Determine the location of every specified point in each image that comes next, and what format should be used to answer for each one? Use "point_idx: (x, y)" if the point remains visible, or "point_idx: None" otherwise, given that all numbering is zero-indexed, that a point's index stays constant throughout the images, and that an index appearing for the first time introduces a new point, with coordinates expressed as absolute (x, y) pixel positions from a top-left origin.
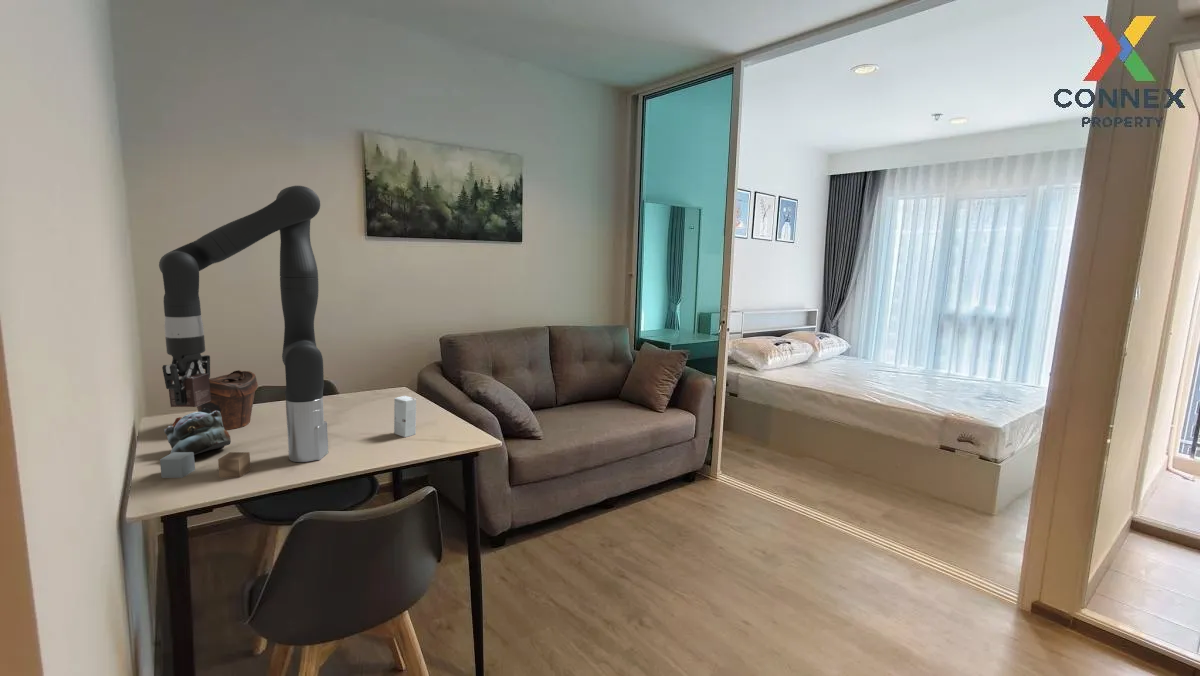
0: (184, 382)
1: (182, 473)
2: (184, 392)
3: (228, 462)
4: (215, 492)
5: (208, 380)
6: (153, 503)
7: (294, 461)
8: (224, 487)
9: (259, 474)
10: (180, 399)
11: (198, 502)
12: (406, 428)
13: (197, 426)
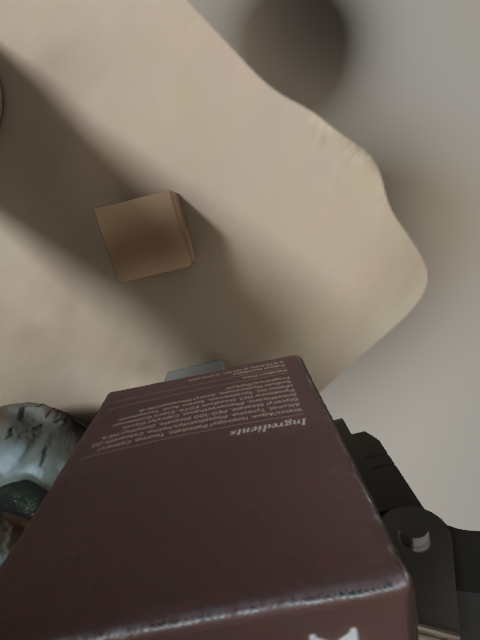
0: (423, 601)
1: (221, 364)
2: (374, 488)
3: (181, 228)
4: (294, 175)
5: (30, 539)
6: (384, 285)
7: (1, 99)
8: (256, 178)
9: (138, 146)
10: (385, 456)
11: (364, 166)
12: None
13: (19, 528)
